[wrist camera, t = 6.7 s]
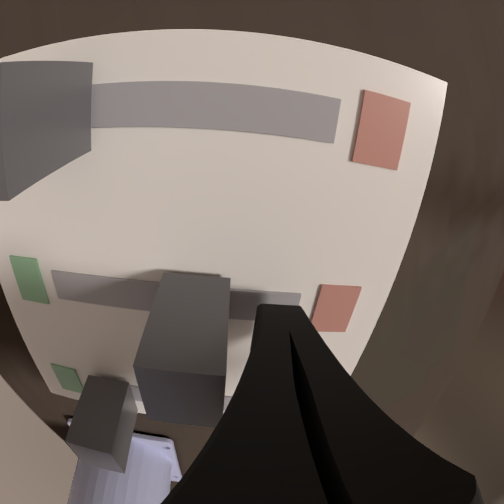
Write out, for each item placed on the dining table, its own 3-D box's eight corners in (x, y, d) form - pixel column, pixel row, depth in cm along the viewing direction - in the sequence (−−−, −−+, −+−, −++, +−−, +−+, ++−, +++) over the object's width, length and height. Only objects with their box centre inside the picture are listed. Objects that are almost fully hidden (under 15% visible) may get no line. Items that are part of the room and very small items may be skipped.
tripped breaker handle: (225, 335, 10) (221, 427, 7) (167, 330, 10) (147, 419, 7) (230, 277, 9) (226, 375, 6) (164, 272, 9) (132, 366, 6)
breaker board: (319, 400, 16) (336, 486, 11) (60, 373, 15) (29, 448, 10) (422, 80, 8) (548, 102, 3) (-5, 66, 7) (-116, 90, 2)
